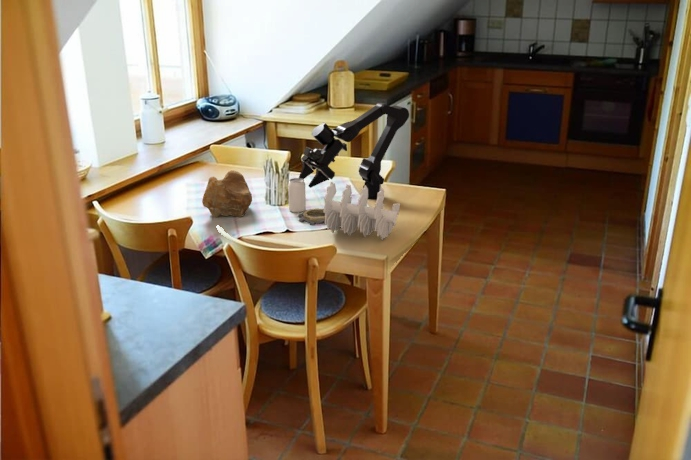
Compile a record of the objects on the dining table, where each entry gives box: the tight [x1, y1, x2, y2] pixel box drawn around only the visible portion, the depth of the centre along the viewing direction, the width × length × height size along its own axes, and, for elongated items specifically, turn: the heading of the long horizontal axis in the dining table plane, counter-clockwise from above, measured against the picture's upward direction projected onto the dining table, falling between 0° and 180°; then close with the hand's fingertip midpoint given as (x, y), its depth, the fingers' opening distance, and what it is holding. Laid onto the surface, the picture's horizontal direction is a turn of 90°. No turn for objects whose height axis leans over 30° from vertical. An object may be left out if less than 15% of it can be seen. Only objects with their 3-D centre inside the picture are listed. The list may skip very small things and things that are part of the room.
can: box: [287, 177, 307, 214], centre depth 249 cm, size 6×6×12 cm
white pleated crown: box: [323, 181, 401, 241], centre depth 224 cm, size 18×18×25 cm
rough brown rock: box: [202, 170, 253, 218], centre depth 246 cm, size 23×17×15 cm
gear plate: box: [298, 207, 326, 226], centre depth 242 cm, size 14×14×2 cm
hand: (303, 183), depth 249 cm, fingers open, 9 cm apart
